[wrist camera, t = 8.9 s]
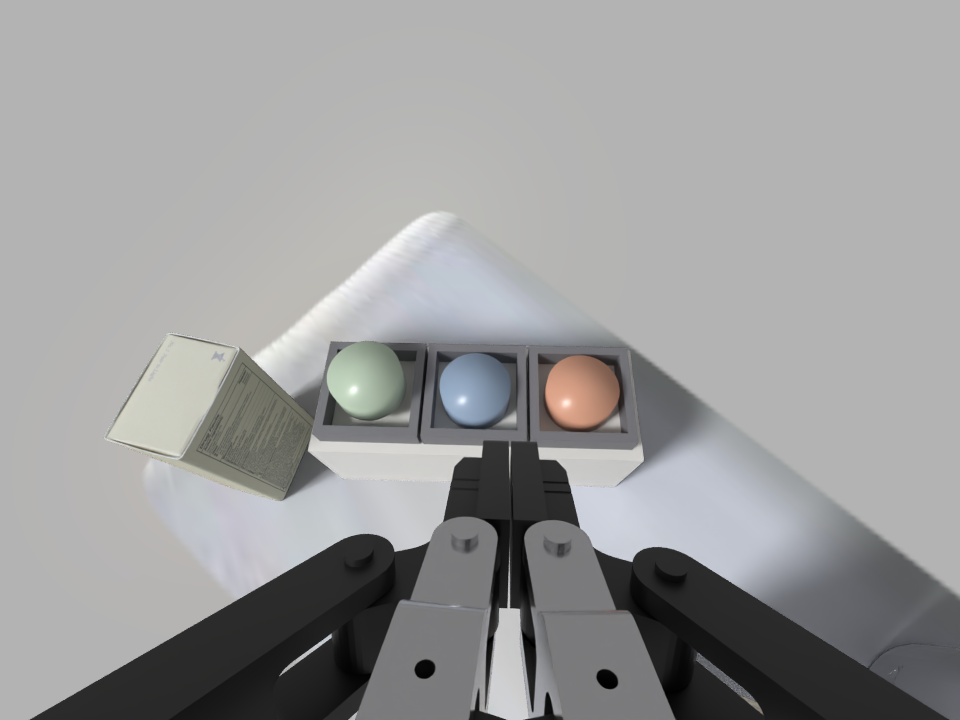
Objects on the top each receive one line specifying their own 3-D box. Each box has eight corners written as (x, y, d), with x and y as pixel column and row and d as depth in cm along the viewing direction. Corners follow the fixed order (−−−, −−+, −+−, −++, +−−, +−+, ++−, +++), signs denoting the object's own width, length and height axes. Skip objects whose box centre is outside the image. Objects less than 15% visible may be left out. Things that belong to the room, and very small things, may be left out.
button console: (605, 393, 35) (636, 339, 28) (614, 487, 32) (651, 453, 25) (357, 387, 36) (323, 332, 28) (342, 478, 33) (298, 443, 25)
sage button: (409, 358, 28) (404, 341, 26) (402, 421, 26) (396, 408, 24) (343, 356, 28) (333, 340, 26) (331, 419, 26) (320, 406, 24)
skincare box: (266, 409, 35) (167, 326, 25) (320, 422, 35) (243, 343, 24) (226, 490, 33) (95, 437, 22) (284, 506, 32) (178, 460, 21)
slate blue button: (509, 368, 29) (511, 353, 27) (509, 431, 27) (510, 419, 25) (445, 367, 29) (442, 352, 27) (440, 429, 27) (436, 417, 25)
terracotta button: (608, 371, 28) (615, 356, 27) (614, 434, 27) (623, 422, 25) (542, 369, 29) (545, 354, 27) (544, 432, 27) (548, 420, 25)
